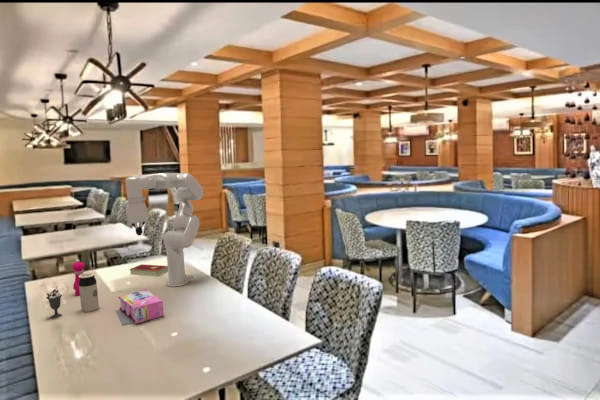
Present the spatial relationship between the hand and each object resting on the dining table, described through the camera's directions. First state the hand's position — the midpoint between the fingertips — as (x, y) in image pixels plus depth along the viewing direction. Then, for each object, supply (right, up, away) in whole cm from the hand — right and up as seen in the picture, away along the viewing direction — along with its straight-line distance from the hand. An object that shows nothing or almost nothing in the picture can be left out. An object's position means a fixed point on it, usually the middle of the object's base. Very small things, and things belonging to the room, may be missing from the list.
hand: (139, 234), depth 230 cm
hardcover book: (-13, -29, +53) cm, 62 cm away
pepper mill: (-38, -35, +16) cm, 54 cm away
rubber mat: (+5, -37, -18) cm, 41 cm away
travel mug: (-22, -37, -9) cm, 44 cm away
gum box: (+13, -32, -14) cm, 37 cm away
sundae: (-34, -39, -16) cm, 54 cm away
